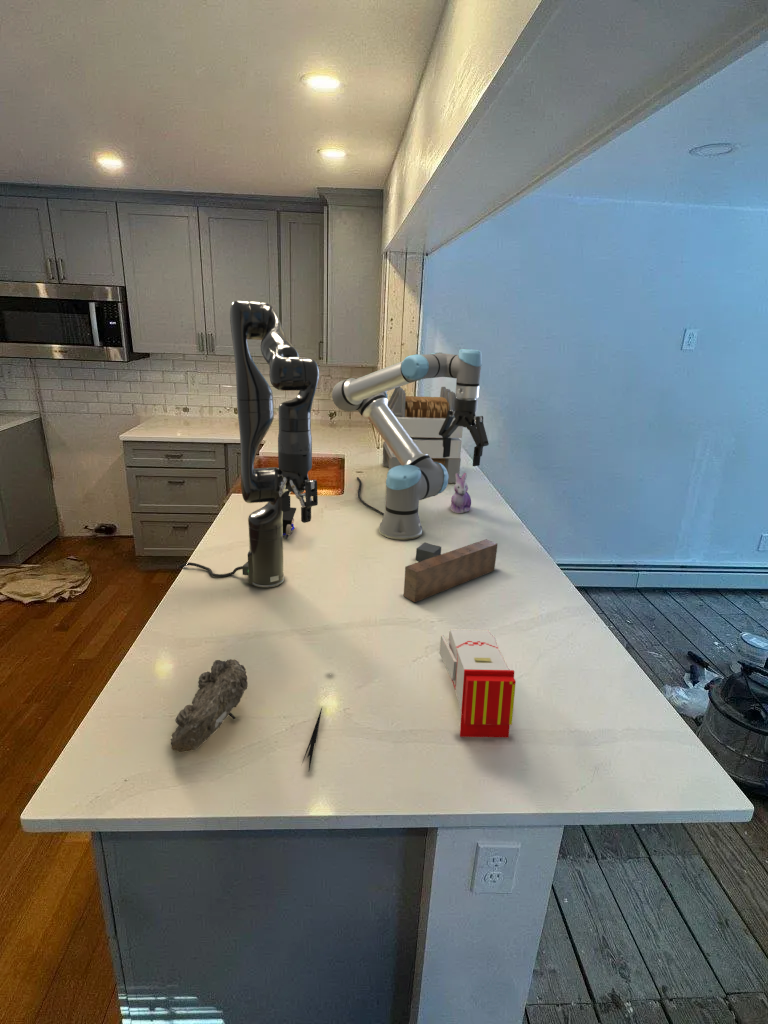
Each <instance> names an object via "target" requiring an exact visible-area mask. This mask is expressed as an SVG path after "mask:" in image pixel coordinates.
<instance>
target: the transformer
mask: <svg viewBox="0 0 768 1024" xmlns="http://www.w3.org/2000/svg"><path fill="white" fill-rule="evenodd" d="M455 394H456V392H454V391H451V389H450V388H446V386H441V387H440V394H439V396H416V395H414V396H413V395H410V396H409V395H407V393H406V390H405V389H404V388H402V386H400V387H397V388H395V389H393V392H392V393H391V395H390V398H389V399H388V407H389V409H390V410H391V411H392V413H393V414H394V415H395V417H396V418H397V420H398V421H399V422H400V424H401V425H402V426H403V428H404V429H405V431H406V432H407V433H408V435H409V436H410V437H411V439H412V440H413V442H414V443H415V444H416V446H417V447H418V448H419V450H420V451H421V453H422V454H427V455H429V456H430V458H431V459H432V460H433V462H438V463H441V464H442V465H444V467H445V468H446V470H447V472H448V484H456V476H455V475H456V473H457V474H458V475H459V476H460V475H461V473H460V472H461V471H460V470H461V462H462V458H461V452H462V443H463V442H462V438H463V431H464V427H463V426H458V427H457V429H456V430H455V431H454V432H453V433H452V434H451V436H450V437H448V438H451V447H450V457H445V458H444V457H443V449H444V447H443V437H442V436H441V435H439V431H440V429H441V427H442V425H443V423H444V421H445V419H446V417H447V412H448V410H455V409H454V404H455V399H456V398H457V397H456V396H455ZM454 420H455V417H454V418H453V420H452V422H453V421H454ZM452 422H451V425H452ZM451 425H450V426H451ZM382 442H383V443H382V463H381V464H382V465H383V467H386V468H388V471H389V470H390V469H391V468H393V467H395V466H399V465H401V463H400V462H399V460H398V459H397V458H396V456H395V455H394V453H393V452H392V451H391V449H390V448H389V446H388V445H387V444H386V442H385V441H382Z"/></svg>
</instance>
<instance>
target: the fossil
mask: <svg viewBox="0 0 768 1024" xmlns="http://www.w3.org/2000/svg"><path fill="white" fill-rule="evenodd" d="M197 683H198V684H197V687H198V690H197V691H196V693H195V694H194V697H193V698H192V701H191V704H187V705H185V706H184V707H183V708H182V709H181V710H179V712H178V713H177V715H176V717H175V719H174V721H175V723H176V725H177V726H176V728H175V730H174V731H173V732H172V733H171V735H170V736H171V738H170V747H171V750H172V751H176V752H178V753H186V752H190V751H193V752H195V751H197V750H198V749H199V748H200V747H201V746H202V745H203V744H204V743H205V742H207V741H208V740H209V739H210V737H211V736H212V735H213V734H215V733H216V731H218V730H219V729H220V728H221V726H222V725H223V723H224V721H225V720H226V719H227V718H228V717H230V718H232V720H235V719H236V716H235V715H234V714H233V713H232V710H233V709H235V708H237V706H238V705H239V704H240V702H241V700H242V698H243V696H244V693H245V691H246V690H247V689H248V686H249V685H248V675H247V669H246V668H245V666H244V665H243V664H241V663H240V661H238V660H237V659H236V658H234V659H232V658H230V659H226V660H221V659H216V660H214V661H213V662H212V665H211V667H210V671H208V670H207V671H205V672H201V674H200V675H199V676H198V681H197Z"/></svg>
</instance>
